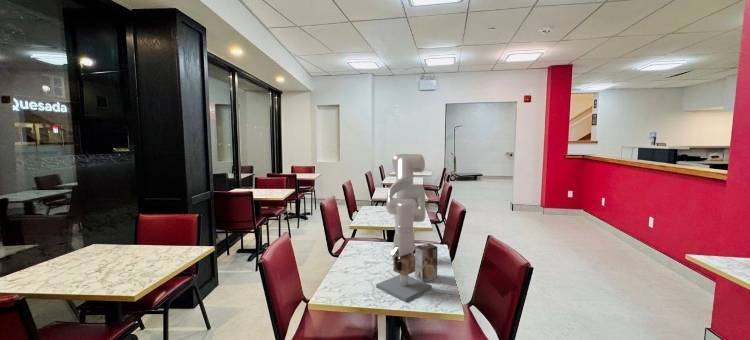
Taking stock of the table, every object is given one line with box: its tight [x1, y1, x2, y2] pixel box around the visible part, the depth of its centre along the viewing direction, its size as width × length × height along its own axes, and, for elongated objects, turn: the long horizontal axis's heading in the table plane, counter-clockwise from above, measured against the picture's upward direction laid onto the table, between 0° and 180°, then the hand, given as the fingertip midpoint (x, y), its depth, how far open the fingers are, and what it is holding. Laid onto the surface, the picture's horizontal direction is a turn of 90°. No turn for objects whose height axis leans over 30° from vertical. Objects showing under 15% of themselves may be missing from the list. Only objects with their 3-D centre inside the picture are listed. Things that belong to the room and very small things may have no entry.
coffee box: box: [414, 243, 438, 283], centre depth 152 cm, size 9×6×16 cm
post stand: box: [375, 274, 433, 303], centre depth 141 cm, size 18×18×10 cm
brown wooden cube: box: [392, 254, 415, 276], centre depth 141 cm, size 7×7×7 cm
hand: (404, 267), depth 141 cm, fingers open, 7 cm apart
